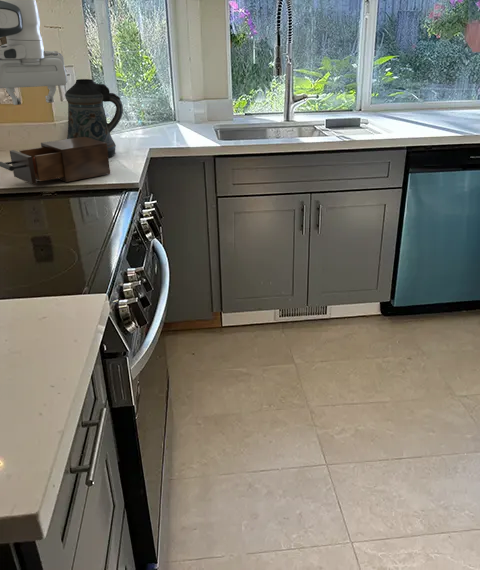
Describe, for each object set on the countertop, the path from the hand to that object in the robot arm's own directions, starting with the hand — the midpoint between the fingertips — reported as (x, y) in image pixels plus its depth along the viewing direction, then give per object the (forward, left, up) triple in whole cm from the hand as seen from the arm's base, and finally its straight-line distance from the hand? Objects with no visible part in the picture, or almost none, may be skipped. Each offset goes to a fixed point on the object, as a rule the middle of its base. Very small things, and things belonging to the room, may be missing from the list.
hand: (33, 103), depth 167 cm
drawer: (-2, 0, -21) cm, 21 cm away
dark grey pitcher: (+28, +20, -22) cm, 41 cm away
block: (0, 0, -20) cm, 20 cm away
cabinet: (+11, 0, -22) cm, 24 cm away
